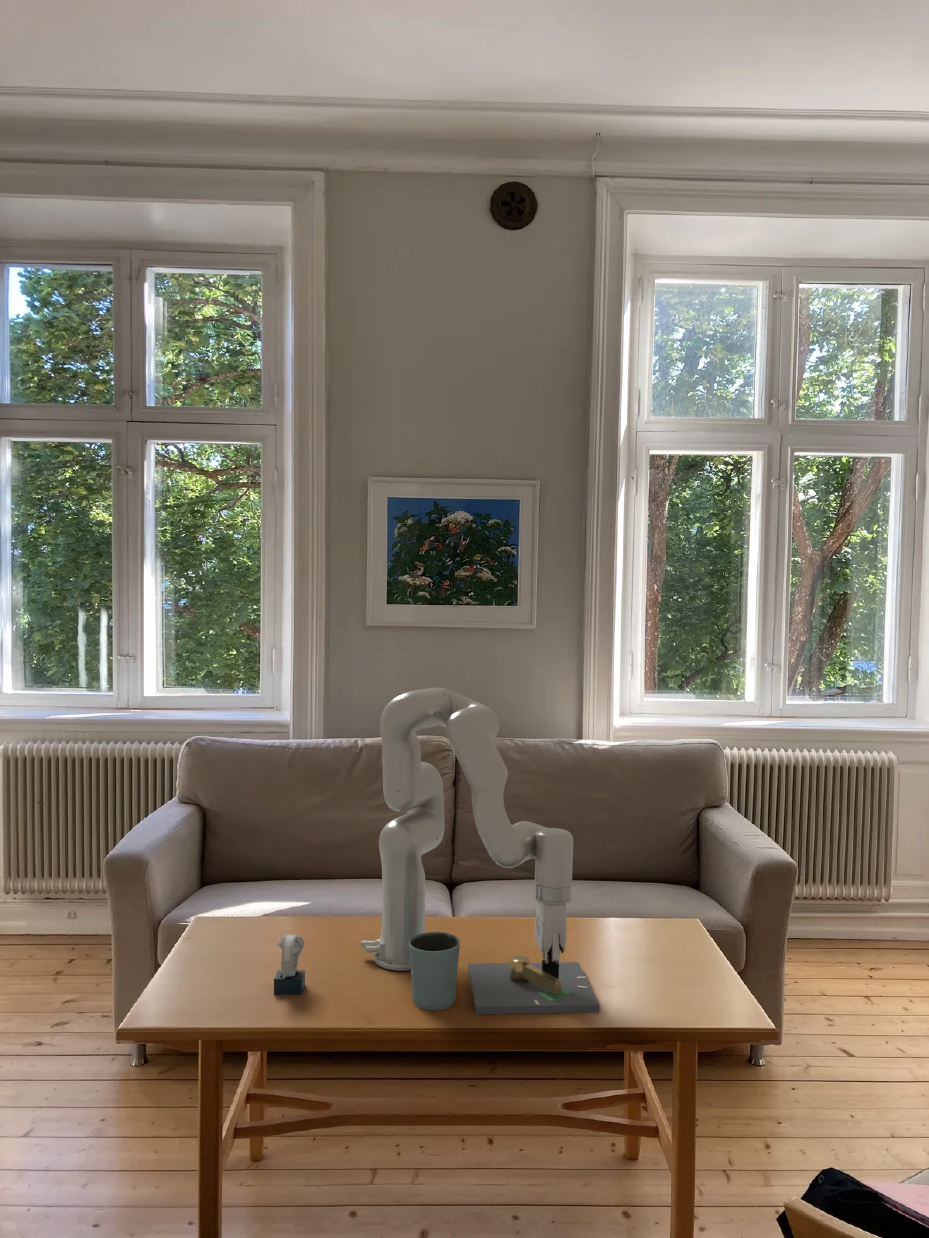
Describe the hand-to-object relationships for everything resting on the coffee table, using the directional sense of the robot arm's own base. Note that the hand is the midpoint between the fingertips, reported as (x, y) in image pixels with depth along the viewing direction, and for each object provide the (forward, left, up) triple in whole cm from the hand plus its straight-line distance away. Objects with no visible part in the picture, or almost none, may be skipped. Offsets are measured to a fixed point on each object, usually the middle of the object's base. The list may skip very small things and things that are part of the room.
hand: (549, 980), depth 178 cm
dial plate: (-4, +2, -3) cm, 5 cm away
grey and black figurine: (-53, +4, -3) cm, 53 cm away
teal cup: (-24, -2, -3) cm, 24 cm away
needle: (-3, 0, -1) cm, 3 cm away
